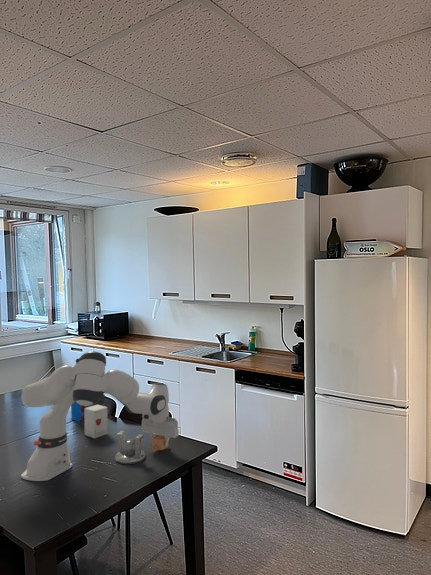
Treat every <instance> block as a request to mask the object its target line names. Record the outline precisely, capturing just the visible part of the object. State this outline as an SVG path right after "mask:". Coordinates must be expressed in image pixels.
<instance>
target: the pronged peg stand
mask: <svg viewBox="0 0 431 575" xmlns="http://www.w3.org/2000/svg"><path fill="white" fill-rule="evenodd" d="M116 437H117V438H119V451H118V452H117V453H116V454H115V455H114V460H115V462H116V463H118V464H120V465H121V464H122V465H133V464H137V463H141V462H143V460H145V458H146V452H145V451H144V450H143V449H142V439H143V438H144V434H140V433H139V434H138V435H136V437H134V438H128V439H126V431H125V430H120V431H119V432H117V433H116Z"/></svg>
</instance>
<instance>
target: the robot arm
mask: <svg viewBox="0 0 431 575" xmlns="http://www.w3.org/2000/svg"><path fill="white" fill-rule="evenodd" d="M106 358H107V357H106V356H105V354H103V353H102V352H99V351H86V352H84V353H83V354H81V356H80V357H79V358H76V359H75V365H69V364H67V365H66V364H65V365H62V366H60V367H58V368H56V369H54V371H53V372H52V373H51V374H50V375H49V376H47V377H45V378H43V379H40V380H38V381H36V382H33V383H30V384H28V385H26V386H25V387H23V389H22V392H21V396H20V397H21V401H22V403H23V405H24V406H25V407H27V408H42V407H48V406H52V407H51V408H50V409H49V410H48V411H47V412H46V413H44V414H43V415H42V416H41V418H40V419H39V436H38V440H36V439H35V440H34V441H33V445H34V446H36V447H35V449H34V451H33V453H32V455H31V456H30V458H29V459H28V461H27V463H26V465H27V466H26V469H25V471H23V472H22V473H21V475H20V478H21V479H23V480H26V481H32V482H44V481H50V480H51V479H53V478H55V477H57V476H59V475H60V474H62V473H64V472H66V471H67V470H69V469H71V468H72V467H73V463H72V462H71V456H70V448H69V446H68V443H67V441H68V435H67V434H68V433H67V425H66V424H67V415H68V413H69V410H70V409H71V405H72V404H73V403H74V401H75V402H76V403H77V404H80V405H83V406H89V405H90V406H94V405H97V403H99V402H100V401H102V400H104V398H105V397H106V395H105V394H107V395H110V396H112V397H113V398H114V399H116V400H117V402H119V403H121V404H122V405H123V407H124V408H125V410H126V412H128V413H130V414H141V415H142V416H141V417H142V420H141V432H143V433H147V434H149V435H150V438H151V439H152V438H153V437H155V436H156V435H160V436H165V438H166V441H164V445H168V446H169V441H170V439H176V438H178V436H179V435H180V434H179V432H180V431H179V422H178V420H177V419H176V418H175V417H170V410H169V409H170V408H169V399H170V398H169V396H170V395H169V394H170V393H169V388H168V385H167V384H166V383H160V382H159V383H157V382H154V383H152V384H151V388H150V389H151V391H150V392H148V393H146V392H140V384H139V382H138V380H136V379H135V378H134V377H133V376H132V375H130V374H128V373H127V372H125V371H122V370H119V369H111V370H108V371H107V372H106V366H107V359H106Z"/></svg>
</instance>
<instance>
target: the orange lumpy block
mask: <svg viewBox="0 0 431 575" xmlns="http://www.w3.org/2000/svg"><path fill="white" fill-rule="evenodd" d="M154 436H155V437H153V438H151V451H152V452H156V451H164V449H166V448H168V447H169V444H168V445H164V441H166V438H165V436H160V435H154Z"/></svg>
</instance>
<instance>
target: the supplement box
mask: <svg viewBox="0 0 431 575" xmlns="http://www.w3.org/2000/svg"><path fill="white" fill-rule="evenodd" d="M105 435H108V406H104V405H101V404H94V405H90V407H87V408H85V420H84V436H87V437H89V438H92V439H94V440H95V439H98V438H100V437H104V436H105Z"/></svg>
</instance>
